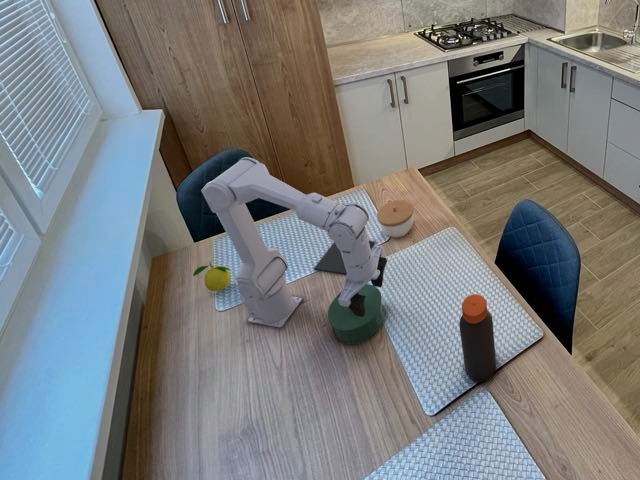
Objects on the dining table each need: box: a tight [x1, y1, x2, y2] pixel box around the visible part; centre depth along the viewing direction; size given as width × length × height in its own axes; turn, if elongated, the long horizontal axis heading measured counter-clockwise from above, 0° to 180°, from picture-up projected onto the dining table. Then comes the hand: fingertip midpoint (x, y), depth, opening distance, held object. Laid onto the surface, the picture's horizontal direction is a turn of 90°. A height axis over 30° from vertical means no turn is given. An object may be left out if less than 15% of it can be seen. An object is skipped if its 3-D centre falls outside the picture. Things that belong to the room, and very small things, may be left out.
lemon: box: [192, 261, 232, 292], centre depth 106 cm, size 7×6×10 cm
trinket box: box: [376, 199, 415, 239], centre depth 124 cm, size 11×11×9 cm
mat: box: [313, 240, 376, 276], centre depth 117 cm, size 12×12×1 cm
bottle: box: [458, 293, 497, 383], centre depth 84 cm, size 7×7×20 cm
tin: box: [333, 303, 384, 345], centre depth 97 cm, size 11×11×5 cm
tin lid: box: [327, 283, 383, 331], centre depth 95 cm, size 12×12×5 cm
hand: (369, 299), depth 92 cm, fingers open, 7 cm apart
